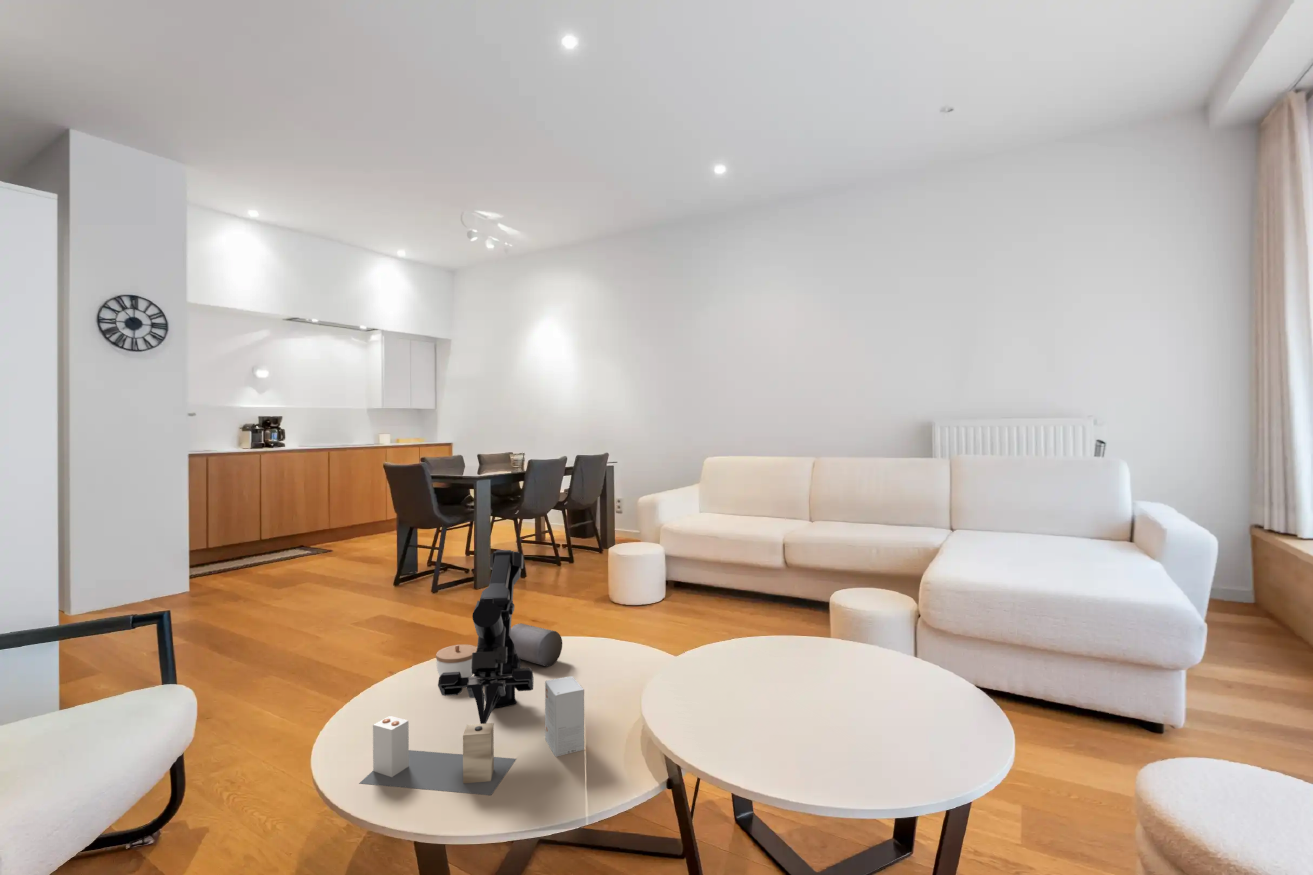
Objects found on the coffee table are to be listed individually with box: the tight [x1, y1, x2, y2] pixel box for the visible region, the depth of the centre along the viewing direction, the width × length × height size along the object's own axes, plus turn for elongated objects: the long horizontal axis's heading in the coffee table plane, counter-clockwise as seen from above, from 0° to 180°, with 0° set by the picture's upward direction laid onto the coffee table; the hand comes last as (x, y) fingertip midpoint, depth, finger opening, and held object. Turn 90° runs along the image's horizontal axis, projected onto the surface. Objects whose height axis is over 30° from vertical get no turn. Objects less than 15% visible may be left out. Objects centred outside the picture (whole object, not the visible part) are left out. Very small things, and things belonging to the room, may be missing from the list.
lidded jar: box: [435, 644, 477, 678], centre depth 157 cm, size 11×11×9 cm
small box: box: [544, 675, 585, 757], centre depth 123 cm, size 8×6×13 cm
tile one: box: [462, 722, 495, 783], centre depth 112 cm, size 4×5×9 cm
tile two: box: [372, 715, 410, 777], centre depth 114 cm, size 4×5×9 cm
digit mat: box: [358, 749, 517, 796], centre depth 114 cm, size 26×12×1 cm, turn 82°
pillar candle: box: [510, 623, 563, 667], centre depth 170 cm, size 10×10×15 cm
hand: (482, 724), depth 117 cm, fingers closed
